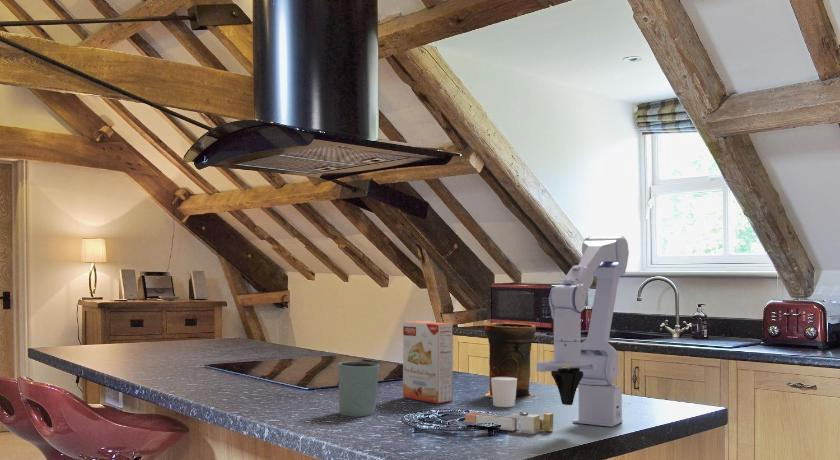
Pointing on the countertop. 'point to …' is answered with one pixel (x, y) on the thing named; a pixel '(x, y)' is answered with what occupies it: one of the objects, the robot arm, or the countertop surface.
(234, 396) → the countertop surface
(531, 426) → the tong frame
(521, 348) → the vessel
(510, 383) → the white tapered cup
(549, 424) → the lock bolt
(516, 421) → the bar
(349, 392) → the green cup
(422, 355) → the cracker box
